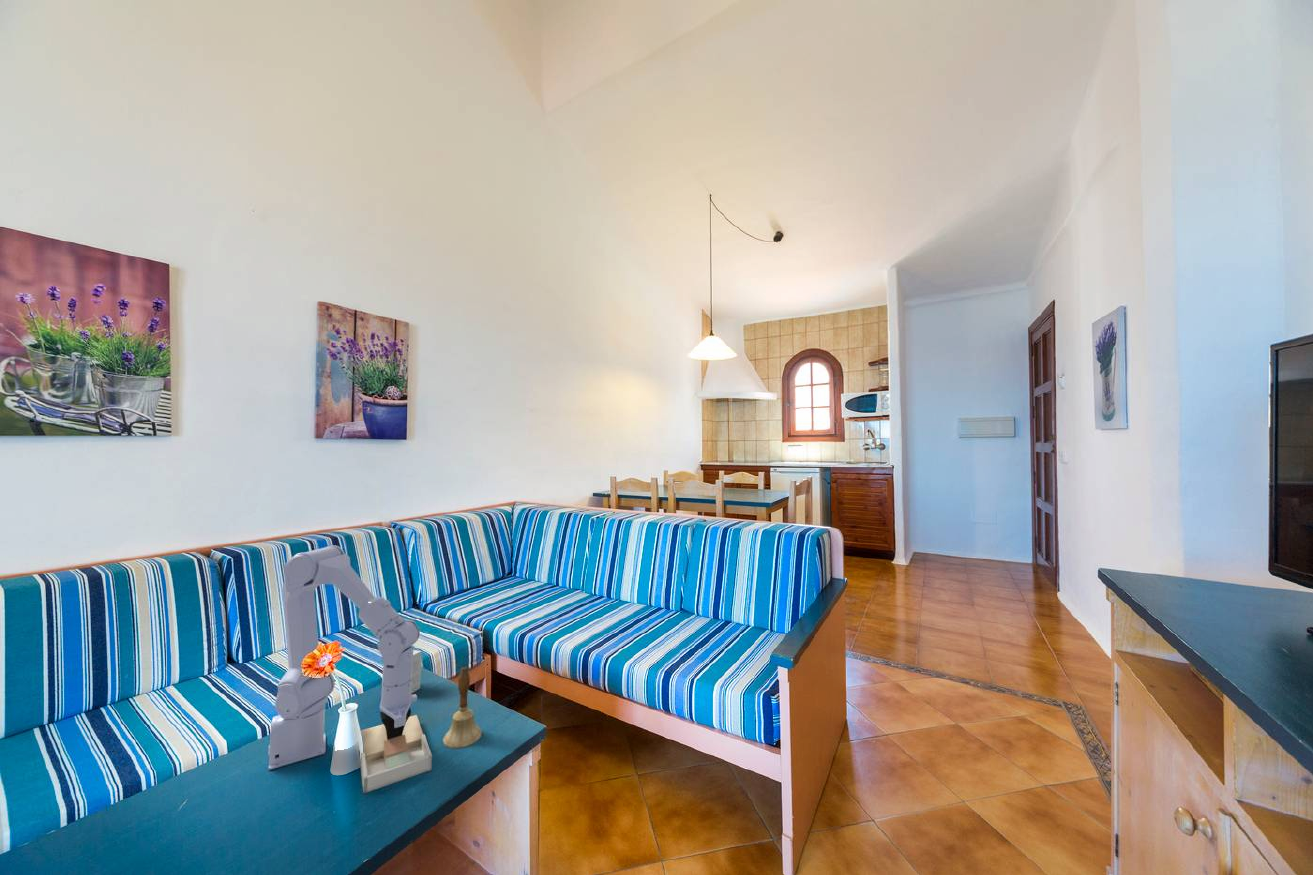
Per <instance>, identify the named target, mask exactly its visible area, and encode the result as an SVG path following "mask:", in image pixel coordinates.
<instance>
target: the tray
mask: <svg viewBox="0 0 1313 875" xmlns="http://www.w3.org/2000/svg"><path fill="white" fill-rule="evenodd" d="M407 751H408V755H409V759H410V762H407V763H404V764H401V765H398V766H395V767H392V768H389V769H386V770H385V765H384V758H382V759H379V760H376V761H373V762H370V763H366V760H365V753H361V767H360V775H361V784H362V791H363V792H362V794H366V793H369V792H372V791H374V790H378V789H380V788H383V787H386V786H390V785H391V784H395V783H397V782H401V781H403V780H406V779H409V778H413V777H414V776H417V775H420V774H421V775H422V774H423V773H427V772H429V771H431V770H432V765H433V763H432V762H433V755H432V752H431V749H430V747H429V744H428V740H427V738H426V734H425V733H423V735H422V737H421V746H420V747H417V748H413V749H410V750H407Z"/></svg>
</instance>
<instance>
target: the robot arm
mask: <svg viewBox="0 0 1313 875" xmlns="http://www.w3.org/2000/svg"><path fill="white" fill-rule="evenodd" d="M283 568H284V569H283V570H284V572H283V573H284V580H283V584H282V589H281V590H282V602H283V613H284V615H283V616H284V624H285V625H284V626H285V637H286V649H287V661H288V662H287V663H288V669H287V671H286V672H285V674H284V675H283V676H282V677H281V679H280V681H279V682H278V684H277V695H276V698H275V700H274V707H275V711H276V712H277V714H278V715H275V716H273V717H272V720H271V728H270V737H269V738H270V740H269V745H268V752H267V754H268V756H269V759H268V760H269V761H268V770H273V769H277V768H281V767H285V766H287V765H290V764H294V763H298V762H302V761H304V760H307V759H310V758H311V759H312V758H314V757H317V756H322V755H324V754H325V753H326V745H327V744H326V742H327V741H326V740H327V739H326V733H325V718H326V717H325V716H326V714H325V713H326V703H327V702H328V701H329V700H328V697H329V696H330V695H331V693H332V692H333V691H334V689H335V685H336V682H335V678H334V676H333V674H332V673H330V674H329V675H328V676H326V677H322V678H312V677H308V676H304V675H303V673H302V669H301V665H302V661H303V659H304V658H305V656H306V655H307V654H309V653H311V652H313V651H314V650H315V649H316V648H317V646H318V645H319V644H320V643H319V634H318V633H319V632H318V631H319V630H318V621H317V609H316V599H315V590H316V589H317V588H318V587H319V586H320V585H332V586H334V587H336V588H337V589H338V590H339V591H340V592H341V593H342V594H343V595H344V596H345V597H346V598H347V599H348V600H350V601H351V603H353V604H354V605H355V606H356V607H357V608H358V609H359V610H358V619H359V620H360V621H361V622H362V623H363V624H364V625H365V626H366V627H367V629H368V630H369V631H370V632H371V633H372V634H373V635H374V636H375V638H377V640H378V642H377V643H376V645H377V649H378V651H379V653H380V655H381V663H382V678H381V679H382V680H381V696H380V698H381V699H380V703H379V710H380V712H379V716H380V719H381V722H382V724H384V726H385V728H386V735H387V740H389V739H392V738H395V737H398V736H402V733H403V730H404V727H405V725H406V722H407V720H408V718H409V717H410V716H412V715H411V714H412V710H411V705H412V703H414V702H416V701H417V700H418V696H417V694H415V693H412V694H411V689H412V669H413V650H415V649H414V647H415V646H414V644H416V643H417V641H418V640H419V638H420V633H421V631H420V628H419V625H417V623H416V621H415V620H413V619H407V618H405V617H404V616H401V614H399V613H398V612H397V611H396V610H395V609H394V607H393V606H392V605H391V604H392V602H390V600H388V599H385V598H384V597H381V596H375V595H374V594H373V593H372V592H371V590H370V589H369V588H368V587H367V585H366V584H365V583H364V581H363V580H362V579H361V577H360V576H359V575H358V574H357V573H356V571H355V570H354V568H353V567H352V566H351V557H350V556H349V555H348V554H347V553H345V551H344V550H343V549H342V547H340V546H339V545H333V544H332V545H327V546H325V547H322V548H317V549H313V550H309V551H305V552H299V553H296V554H295V555H293V556H292V557H290V558H289V560H288V561H287V562H286V563H284V565H283Z"/></svg>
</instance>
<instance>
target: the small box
mask: <svg viewBox="0 0 1313 875" xmlns="http://www.w3.org/2000/svg"><path fill="white" fill-rule="evenodd" d="M422 660H423V651H422V650H416V649H413V669H412V689H411V695H413V694H414V693H415V692H417V691H418V690H419V689H421V681H422V680H421V679H422V678H421V676H422V664H423V663H422V662H423V661H422Z"/></svg>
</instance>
